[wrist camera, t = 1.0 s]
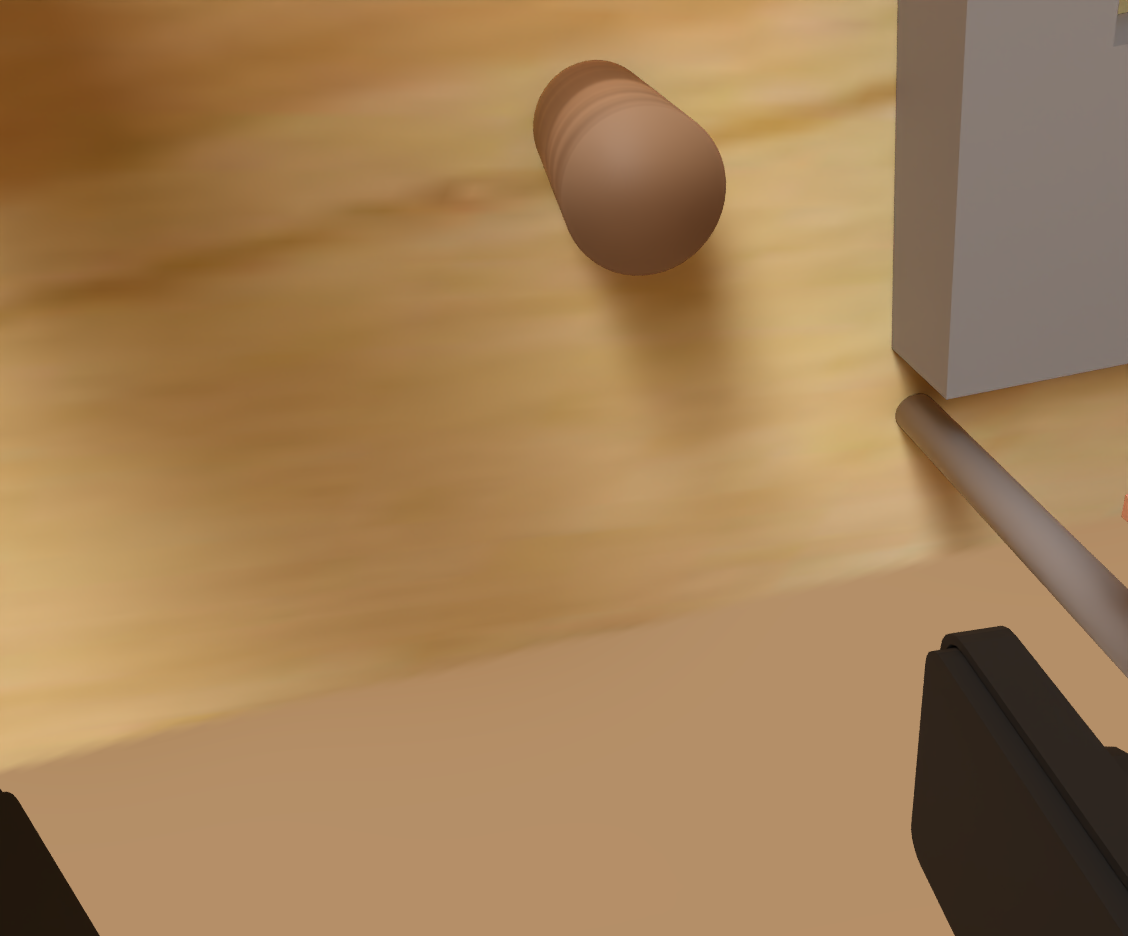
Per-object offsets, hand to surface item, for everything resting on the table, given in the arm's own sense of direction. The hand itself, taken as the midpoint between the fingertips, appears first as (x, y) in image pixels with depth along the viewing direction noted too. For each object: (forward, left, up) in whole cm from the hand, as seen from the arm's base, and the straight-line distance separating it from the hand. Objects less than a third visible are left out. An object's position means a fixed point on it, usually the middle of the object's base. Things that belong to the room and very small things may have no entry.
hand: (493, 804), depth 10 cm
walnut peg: (-2, +5, -25) cm, 25 cm away
